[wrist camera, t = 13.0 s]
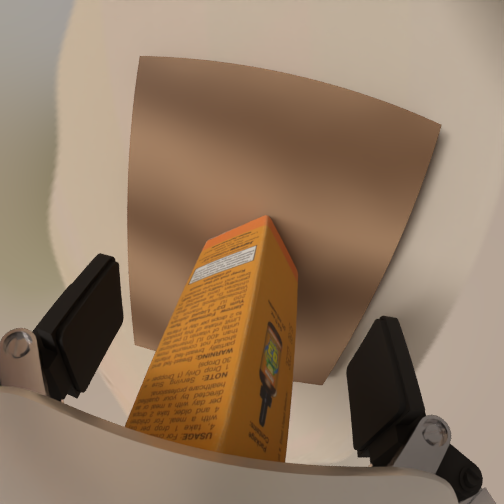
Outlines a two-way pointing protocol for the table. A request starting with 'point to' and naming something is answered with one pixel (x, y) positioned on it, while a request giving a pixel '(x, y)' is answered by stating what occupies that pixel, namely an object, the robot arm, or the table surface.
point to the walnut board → (268, 189)
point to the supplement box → (227, 351)
